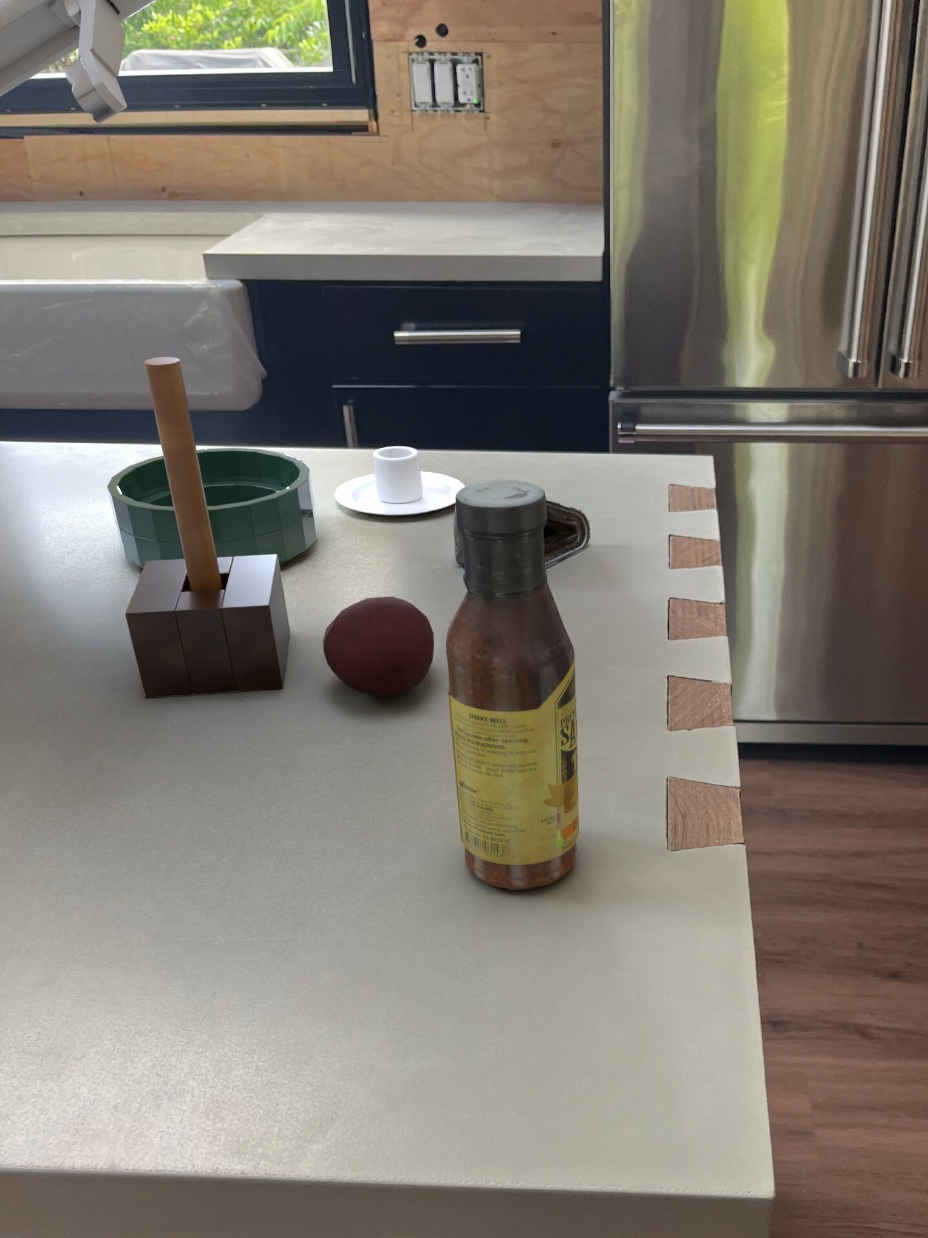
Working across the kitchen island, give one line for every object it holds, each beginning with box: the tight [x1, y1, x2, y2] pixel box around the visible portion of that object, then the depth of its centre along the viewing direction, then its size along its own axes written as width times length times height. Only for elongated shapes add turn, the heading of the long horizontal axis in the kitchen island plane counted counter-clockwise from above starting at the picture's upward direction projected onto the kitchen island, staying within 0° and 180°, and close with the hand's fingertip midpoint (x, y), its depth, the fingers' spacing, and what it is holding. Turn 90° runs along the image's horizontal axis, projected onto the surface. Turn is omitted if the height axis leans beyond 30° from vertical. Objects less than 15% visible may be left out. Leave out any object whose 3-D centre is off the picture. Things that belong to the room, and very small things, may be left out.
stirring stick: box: [143, 356, 223, 592], centre depth 76 cm, size 2×2×20 cm
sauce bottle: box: [445, 479, 580, 891], centre depth 58 cm, size 6×6×20 cm
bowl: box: [106, 447, 318, 569], centre depth 97 cm, size 16×16×6 cm
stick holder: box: [124, 554, 291, 699], centre depth 80 cm, size 9×9×6 cm
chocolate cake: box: [452, 499, 591, 569], centre depth 97 cm, size 10×7×12 cm
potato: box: [322, 596, 435, 697], centre depth 77 cm, size 7×8×6 cm
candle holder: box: [334, 445, 466, 516], centre depth 108 cm, size 12×12×4 cm
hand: (15, 161), depth 52 cm, fingers open, 8 cm apart
